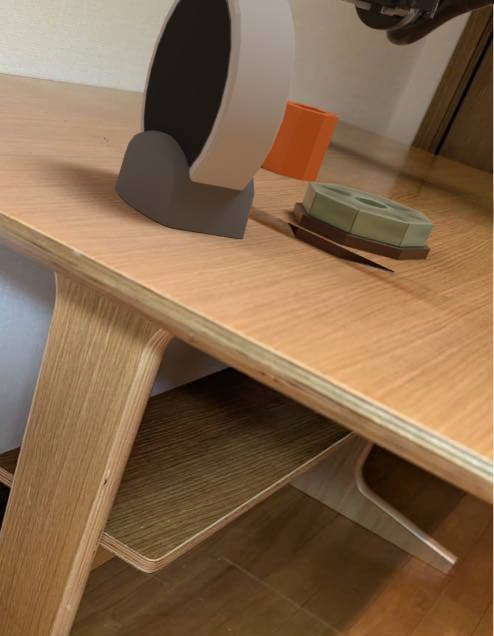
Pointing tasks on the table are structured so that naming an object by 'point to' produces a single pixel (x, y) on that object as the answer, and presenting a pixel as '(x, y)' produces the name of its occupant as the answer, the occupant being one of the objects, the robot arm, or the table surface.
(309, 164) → the orange octagonal prism
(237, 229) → the alarm clock
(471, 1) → the robot arm
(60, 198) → the table surface
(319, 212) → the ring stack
